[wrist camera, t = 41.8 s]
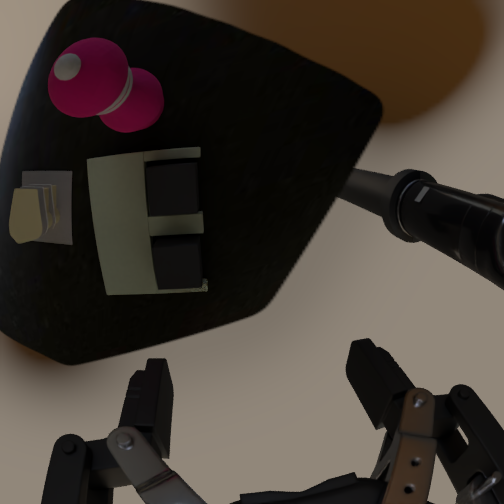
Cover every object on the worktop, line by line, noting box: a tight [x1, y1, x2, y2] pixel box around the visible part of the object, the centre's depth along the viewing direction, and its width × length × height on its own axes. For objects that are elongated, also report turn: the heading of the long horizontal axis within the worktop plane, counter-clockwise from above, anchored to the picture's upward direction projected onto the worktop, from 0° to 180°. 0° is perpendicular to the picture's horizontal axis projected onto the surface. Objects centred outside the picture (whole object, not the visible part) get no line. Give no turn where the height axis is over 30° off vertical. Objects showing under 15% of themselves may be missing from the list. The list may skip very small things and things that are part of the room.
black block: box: [152, 235, 203, 290], centre depth 35 cm, size 5×5×4 cm
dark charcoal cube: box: [146, 162, 199, 216], centre depth 32 cm, size 5×5×4 cm
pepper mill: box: [48, 38, 164, 132], centre depth 20 cm, size 7×7×20 cm
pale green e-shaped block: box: [87, 147, 208, 295], centre depth 34 cm, size 14×18×2 cm
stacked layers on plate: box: [9, 171, 72, 245], centre depth 29 cm, size 10×9×6 cm
